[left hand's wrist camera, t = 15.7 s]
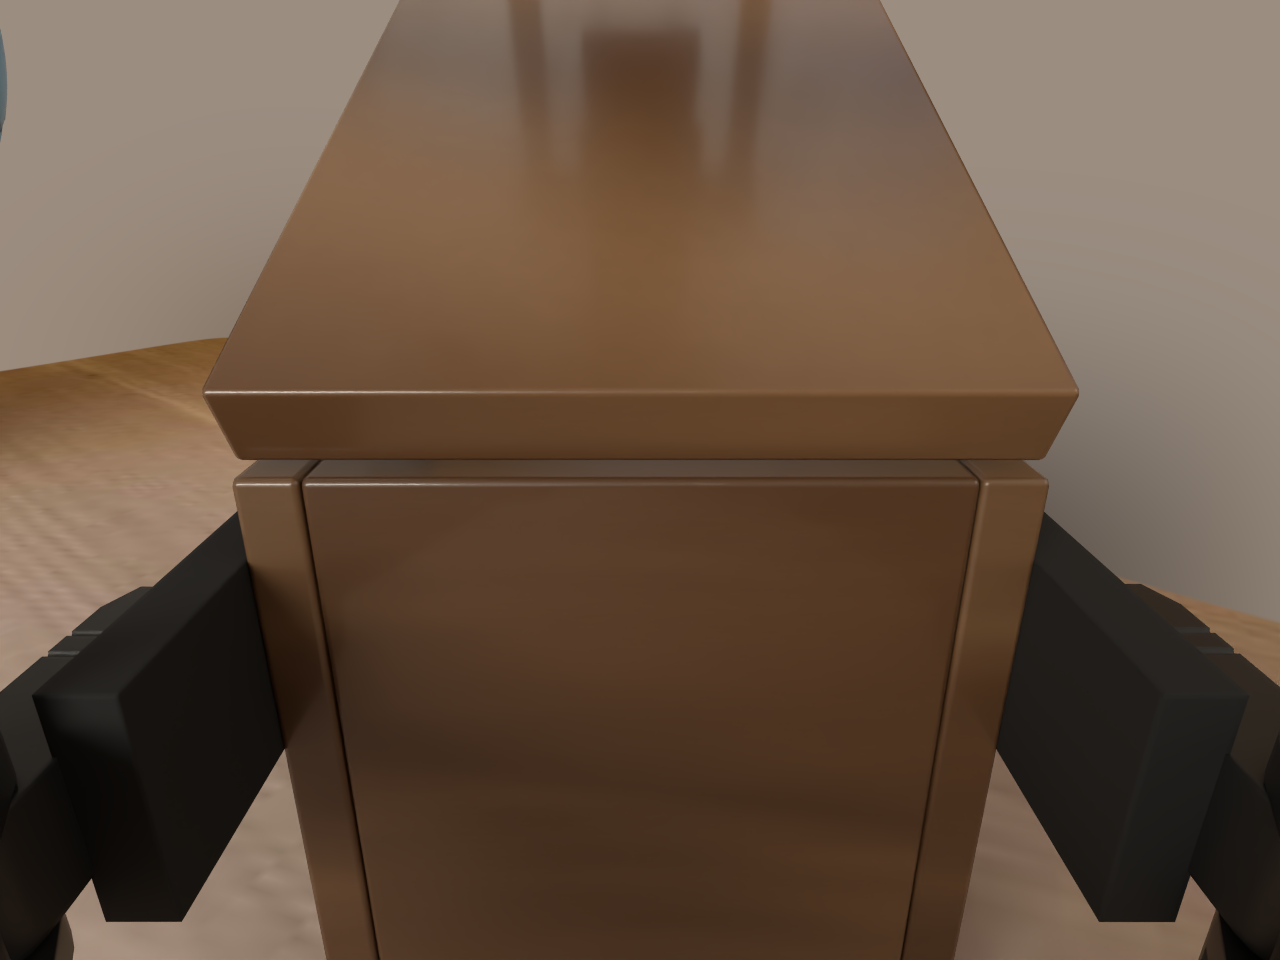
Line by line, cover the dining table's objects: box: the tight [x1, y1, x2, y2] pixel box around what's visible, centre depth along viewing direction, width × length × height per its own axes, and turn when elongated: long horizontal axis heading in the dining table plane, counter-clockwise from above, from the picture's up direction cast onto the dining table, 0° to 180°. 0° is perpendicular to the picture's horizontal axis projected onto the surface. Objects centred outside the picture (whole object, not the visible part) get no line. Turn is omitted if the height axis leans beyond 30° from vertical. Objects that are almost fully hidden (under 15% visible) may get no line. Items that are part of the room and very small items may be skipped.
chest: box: [233, 460, 1049, 960], centre depth 18 cm, size 16×9×10 cm, turn 0°
